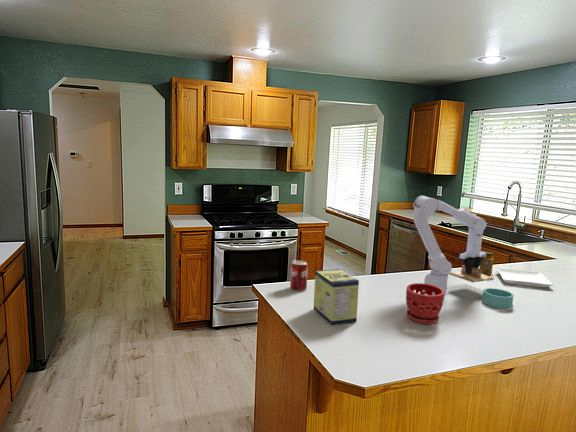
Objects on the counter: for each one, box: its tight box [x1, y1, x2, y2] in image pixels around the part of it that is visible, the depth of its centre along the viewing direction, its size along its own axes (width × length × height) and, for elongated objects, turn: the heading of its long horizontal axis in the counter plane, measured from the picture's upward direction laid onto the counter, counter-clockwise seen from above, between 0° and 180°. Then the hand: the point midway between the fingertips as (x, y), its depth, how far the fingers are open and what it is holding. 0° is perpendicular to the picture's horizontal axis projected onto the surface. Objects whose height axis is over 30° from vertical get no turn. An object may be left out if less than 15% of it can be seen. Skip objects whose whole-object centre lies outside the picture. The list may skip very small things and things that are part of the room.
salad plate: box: [495, 268, 553, 288], centre depth 205 cm, size 21×21×3 cm
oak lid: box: [448, 264, 494, 283], centre depth 183 cm, size 13×13×4 cm
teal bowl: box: [481, 287, 515, 310], centre depth 171 cm, size 11×11×5 cm
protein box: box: [313, 268, 360, 326], centre depth 151 cm, size 10×16×16 cm
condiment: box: [478, 251, 495, 277], centre depth 213 cm, size 7×8×12 cm
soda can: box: [289, 260, 309, 292], centre depth 180 cm, size 7×7×12 cm
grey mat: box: [446, 283, 484, 299], centre depth 186 cm, size 15×15×1 cm
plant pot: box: [405, 282, 445, 325], centre depth 151 cm, size 13×13×12 cm
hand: (471, 273), depth 183 cm, fingers closed on oak lid, 3 cm apart
